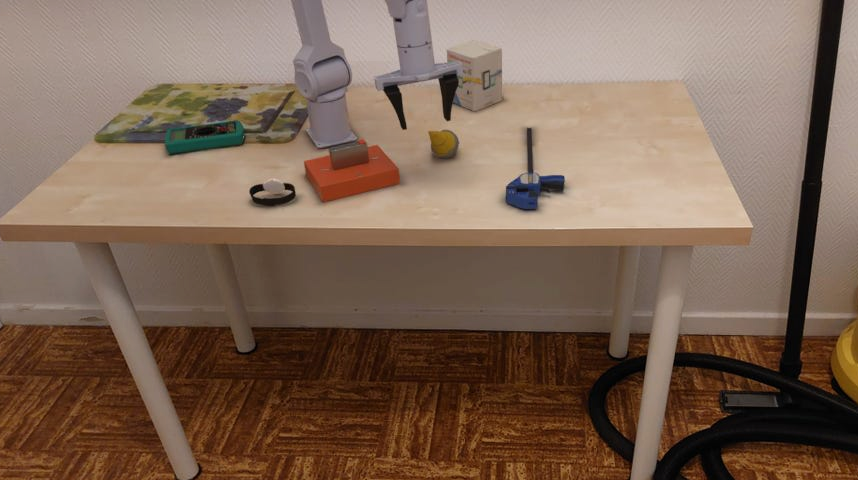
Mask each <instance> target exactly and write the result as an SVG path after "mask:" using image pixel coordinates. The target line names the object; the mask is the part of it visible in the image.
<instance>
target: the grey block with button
mask: <svg viewBox="0 0 858 480" xmlns="http://www.w3.org/2000/svg"><path fill="white" fill-rule="evenodd" d="M367 147H368V143H367V141H366V140H364V139H357V141H353V142H348V143H343V144H339V145H334V146H330V147H328V154H329V155H330V160H331V166H332V168H333V169H334V170H336V169H340V168H345V167H349V166H354V165H358V164H362V163H367V162H369V156H368V148H367Z"/></svg>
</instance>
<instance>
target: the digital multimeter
mask: <svg viewBox="0 0 858 480" xmlns="http://www.w3.org/2000/svg"><path fill="white" fill-rule="evenodd" d="M244 133H245V135H244ZM243 136H244V138H243ZM245 139H246V132H245V128H244V125H243V123H242V121H240V120H237V119H233V120H227V121H221V122H214V123H205V124H199V125H191V126H190V125H189V126H182V127H181V126H180V127H173V128H169V129H168V130H167V131H166V133H165V139H164V144H165V145H164V146H165V148H166V152H167V154H170V155H175V154H181V153H183V154H184V153H189V152H197V151H205V150H211V149H220V148H227V147H233V146H234V147H235V146H241V145H242V144H243V142H244V140H245Z"/></svg>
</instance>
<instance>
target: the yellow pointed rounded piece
mask: <svg viewBox="0 0 858 480" xmlns="http://www.w3.org/2000/svg"><path fill="white" fill-rule="evenodd" d="M427 132H428V136H429V140H430V150H431V152H432V154H433V155H434V156H436V157H437V158H439V159H441V160H445V159H447V160H448V159H449V158H451V157H453V156H454V155H455V154H456V153H457V151H458V149H459V146H460V140H459V137H458V136H457V134H456V133H455V132H453V130H450V129H442V130H428V131H427Z"/></svg>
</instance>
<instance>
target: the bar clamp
mask: <svg viewBox="0 0 858 480" xmlns="http://www.w3.org/2000/svg"><path fill="white" fill-rule="evenodd" d="M532 132H533V130H532V127H526V140H527V141H526V145H527V146H526V147H527V172H524V173H521V174H520V175H518V176H517V177H516V178H514V179H513V180H512V181H510V182H509V183H508V184H507V185H506V186H505V202H506V203H507V204H509V205H511V206H514V207H517V208H520V209H523V210H536V209H537V208H538V207H539V205H538V204H539V196H540V194H541V192H545V193H550V192H551V190H554V191H561V192H564V191H565V182H566V180H565V179H566V178H565V175H562V174H549V175H539V173H538V172H534V158H533V157H534V155H533V133H532Z"/></svg>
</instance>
